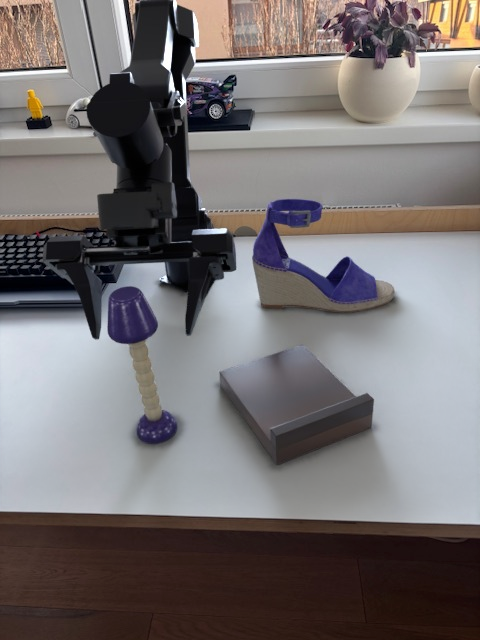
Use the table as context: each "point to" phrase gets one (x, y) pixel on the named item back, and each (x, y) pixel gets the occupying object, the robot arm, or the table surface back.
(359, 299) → the sandal
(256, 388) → the shoe shelf
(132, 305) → the toy lamp
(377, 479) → the table surface
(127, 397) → the table surface
